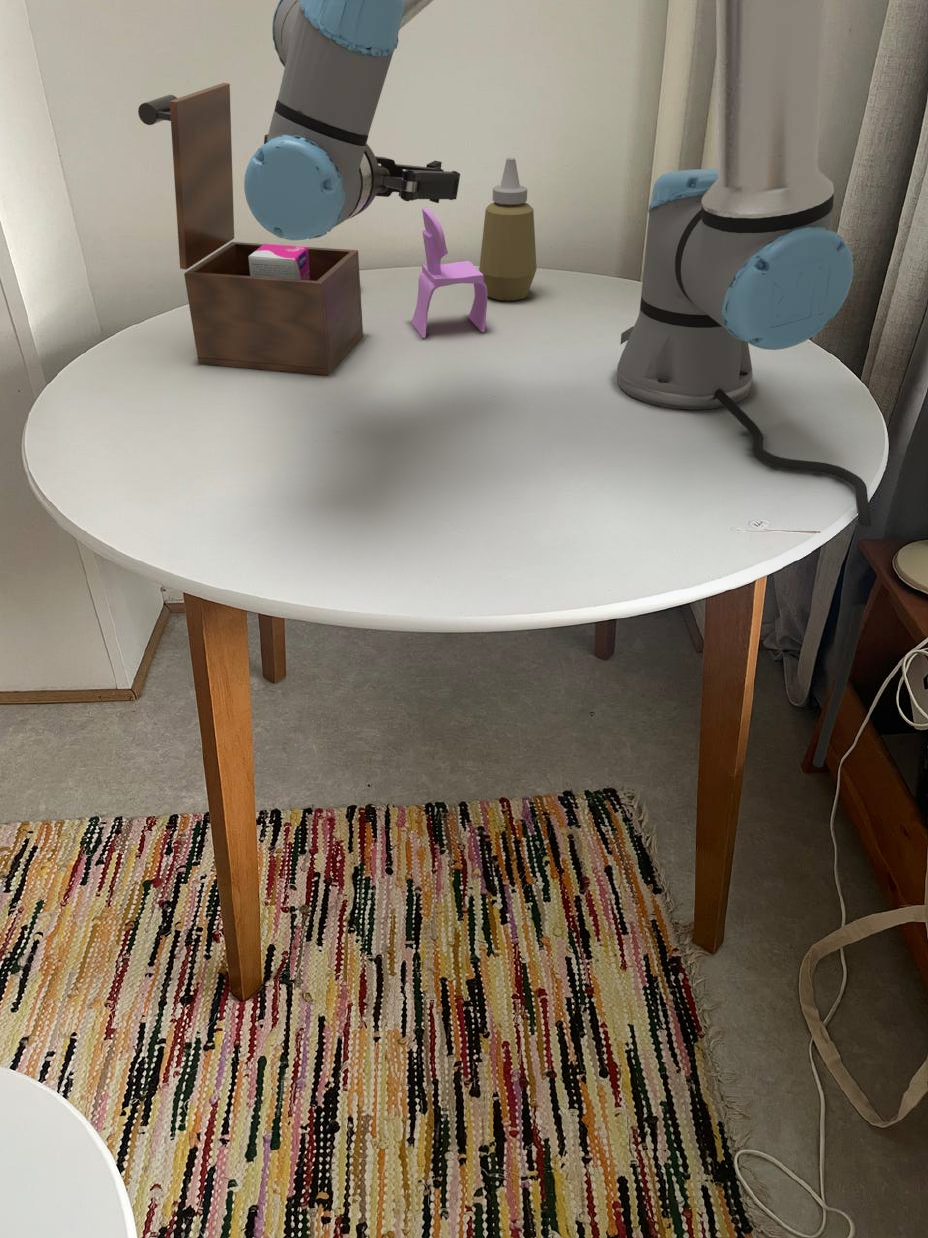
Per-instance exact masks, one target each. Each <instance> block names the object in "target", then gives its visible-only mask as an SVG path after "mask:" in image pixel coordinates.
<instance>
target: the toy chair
mask: <svg viewBox="0 0 928 1238" xmlns="http://www.w3.org/2000/svg"><path fill="white" fill-rule="evenodd" d="M421 212H422V218H423V226H424V229H423V230H422V231H421V233H422V239H423V246H424V252H425V259H426V260H425V261H426V264H421V273H419V276H418V282H417V283H418V284H417V285H418V286H417V301H416V306H415V310H414V313H413V315H412V320H411V324H412V326H413V327H414V328H415V330H416V331H417V333H418V334H419V336H420V337H421V338H422V339H426V338H427V324H428V315H429V309H430V304H431V301H432V298H433V295H434V292H435V290H437V289H439V288H441V287H447V286H452V285H459V284H473V289H474V297H473V303H472V306H471V309H470V312H469V314H468V319H469V320H470V321H471V322H472V323H473V324H474V326H475V327H476V328H477V329H478V330H479V331H480V332H481V333H485V332H486V321H487V307H488V295H487V286H486V284H485V283H484V275H483V274H482V273H481V272H480V271H479V269H477V268H476V267H475V265H474V264H473V262H472V261H470V260H464V261H462V260H461V261H456V262H449V263H441V260H442V258H444V257H445V256H447V255H448V253H449V251H448V248H447V243H446V238H445V237H446V236H445V233H444V230H443V227H442V225H441V223H440V221H439V219H438V218H437V217H436V216H435V215H434V213H433V212H432V211H431V210H430V209H429V208H428V207H423V208H421Z"/></svg>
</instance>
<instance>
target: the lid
mask: <svg viewBox="0 0 928 1238" xmlns="http://www.w3.org/2000/svg"><path fill="white" fill-rule="evenodd" d="M231 111H232V110H231V84H230V83H227V82H222V83H219V84H216V85H213V86H210V87H207V88H204V89H201V90H197V91H196V92H192V93H188V94H187V95H183V96H181V97H177V96H176V95H174V94H167V95H164V96H161V97H158V98H155V99H151V100H149V101H145V102H143V103H141V104H140V105H139V107H138V110H137V114H138V117H139V120H140V121H141V122H142V123H143V124H145V125H147V126H153V125H155V124H158V123H161V122H164V121H168V122H170V129H171V130H170V131H171V146H172V161H173V162H172V163H173V179H174V194H175V211H176V223H177V224H176V227H177V241H178V256H179V269H181V270H185V271H186V270H187V271H188V269H191V268H192V267H194V265H197V263H200V261H203V259H206V258H208V257H209V256H211V255H212V254H214V253H215V252H217V251H218V250H220V249H221V248H223V247H224V246H226V245H228V244H229V243H231V242H232V241H233V240H234V239H235V217H234V216H235V215H234V214H235V213H234V184H233V183H234V182H233V181H234V180H233V179H234V178H233V151H232V149H233V147H232V146H233V145H232V121H231V120H232V116H231V113H232V112H231Z"/></svg>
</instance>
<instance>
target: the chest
mask: <svg viewBox="0 0 928 1238" xmlns="http://www.w3.org/2000/svg"><path fill="white" fill-rule="evenodd" d="M263 244H264V243H256V242H255V243H254V242H253V243H252V242H242V241H230V242H229V243H227V244H226V245H224V246H223V247H221V248H220V249H218V250H217V251H215V252H214V253H212V254H211V255H209V256H207V257H206V258H204V260H201V262H198V264H195V266H192V267H191V268H189V270H187V271H186V272H184V274H183V276H184V281H185V288H186V294H187V295H186V296H187V301H188V308H189V313H190V319H191V326H192V332H193V338H194V345H195V350H196V357H197V364H199V365H208V366H209V365H210V366H220V367H232V368H241V369H252V370H262V371H263V370H265V371H273V372H274V371H275V372H284V373H285V372H286V373H294V374H295V373H296V374H297V373H298V374H306V375H319V376H330V374H331V373H332V372H334V370H335V369H336V368H337V367H338V366H339V364H340V363H341V362H342V361H343V360H344V358H346V356H347V355H348V354H350V352H351V351H352V349H353V348H354V347H355V346H356V345H357V344H358V343H359V342H360V340H361V339H362V338H363V337H364V327H363V310H362V293H361V276H360V274H361V273H360V259H359V257H360V256H359V249H345V248H330V247H329V248H328V247H315V246H313V247H312V246H307V247H308V254H309V270H310V281H309V280H296V279H282V278H268V277H255V276H250V268H249V258H248V257H249V256H250V255H251V254H252V253H253V252H255V251H256V250H257V249H258V248H260V247H261V246H262V245H263ZM284 245H285V244H284ZM285 246H288V245H285Z"/></svg>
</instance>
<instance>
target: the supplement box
mask: <svg viewBox="0 0 928 1238" xmlns="http://www.w3.org/2000/svg"><path fill="white" fill-rule="evenodd" d="M262 244H263V245H262V246H261V247H260V248H258V249H257V250H256V251H255V252H253V253H252V254H251V255H250V256H249V257H248V258H249V268H250V276H255V277H268V278H282V279H296V280H309V281H310V270H309V254H308V247H309V246H302V245H301V246H300V245H298V246H297V245H287V246H285V244H274V243H273V244H271V243H262Z"/></svg>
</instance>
